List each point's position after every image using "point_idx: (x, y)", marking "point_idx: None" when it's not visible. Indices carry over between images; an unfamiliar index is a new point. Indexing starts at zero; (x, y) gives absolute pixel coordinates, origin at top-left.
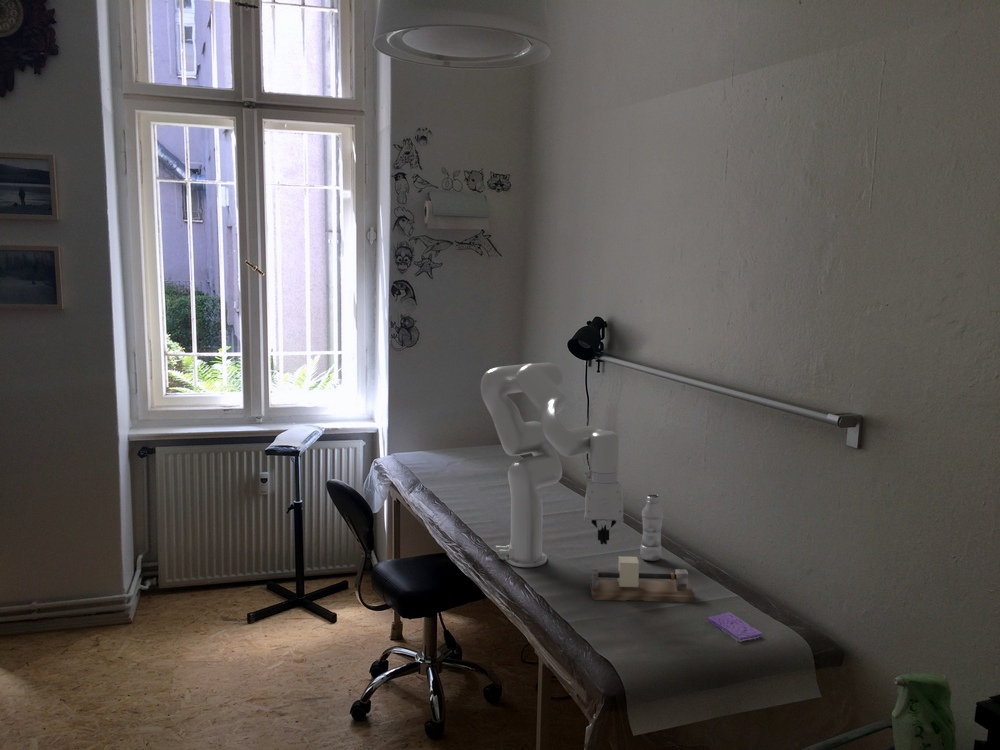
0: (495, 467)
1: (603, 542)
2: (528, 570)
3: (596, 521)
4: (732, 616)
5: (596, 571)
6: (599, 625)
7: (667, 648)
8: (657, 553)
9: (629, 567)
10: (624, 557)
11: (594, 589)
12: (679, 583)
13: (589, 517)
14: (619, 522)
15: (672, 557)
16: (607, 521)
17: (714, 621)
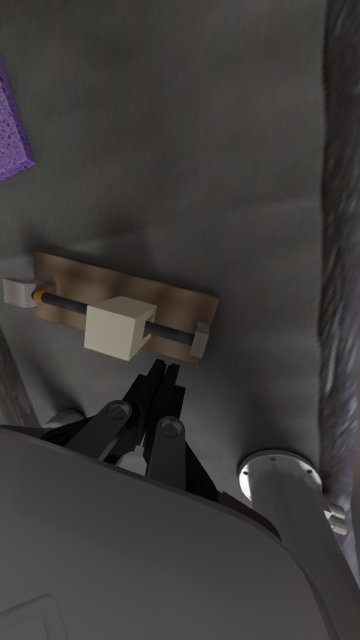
0: None
1: (168, 367)
2: (290, 441)
3: (184, 485)
4: None
5: (196, 344)
6: (252, 165)
7: (142, 10)
8: (55, 416)
9: (118, 309)
10: (115, 350)
11: (206, 320)
12: (40, 281)
13: (287, 565)
14: (25, 427)
15: (44, 415)
16: (98, 455)
17: (18, 134)
